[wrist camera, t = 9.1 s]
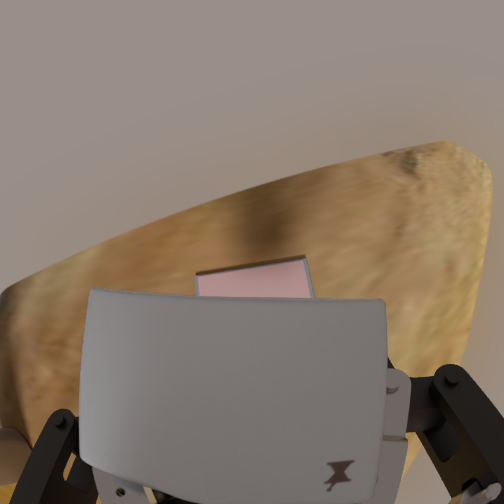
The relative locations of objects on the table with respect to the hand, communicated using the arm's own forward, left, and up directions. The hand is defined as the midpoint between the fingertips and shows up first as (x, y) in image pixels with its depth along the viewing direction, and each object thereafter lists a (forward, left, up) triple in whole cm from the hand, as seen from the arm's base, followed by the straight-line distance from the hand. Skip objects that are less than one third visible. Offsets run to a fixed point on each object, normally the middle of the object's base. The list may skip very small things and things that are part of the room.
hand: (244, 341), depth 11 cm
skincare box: (0, -2, -6) cm, 6 cm away
